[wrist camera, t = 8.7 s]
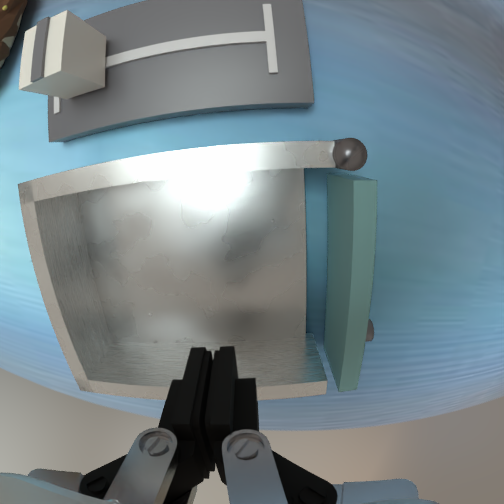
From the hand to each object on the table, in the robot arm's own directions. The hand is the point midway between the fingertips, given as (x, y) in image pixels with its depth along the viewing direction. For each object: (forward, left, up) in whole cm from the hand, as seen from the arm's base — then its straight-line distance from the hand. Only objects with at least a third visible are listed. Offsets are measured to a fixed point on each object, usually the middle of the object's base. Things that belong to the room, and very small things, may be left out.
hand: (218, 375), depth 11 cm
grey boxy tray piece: (+2, -2, -6) cm, 7 cm away
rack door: (-7, -2, -6) cm, 9 cm away
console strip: (+2, -14, -6) cm, 16 cm away
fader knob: (+6, -14, -5) cm, 16 cm away
